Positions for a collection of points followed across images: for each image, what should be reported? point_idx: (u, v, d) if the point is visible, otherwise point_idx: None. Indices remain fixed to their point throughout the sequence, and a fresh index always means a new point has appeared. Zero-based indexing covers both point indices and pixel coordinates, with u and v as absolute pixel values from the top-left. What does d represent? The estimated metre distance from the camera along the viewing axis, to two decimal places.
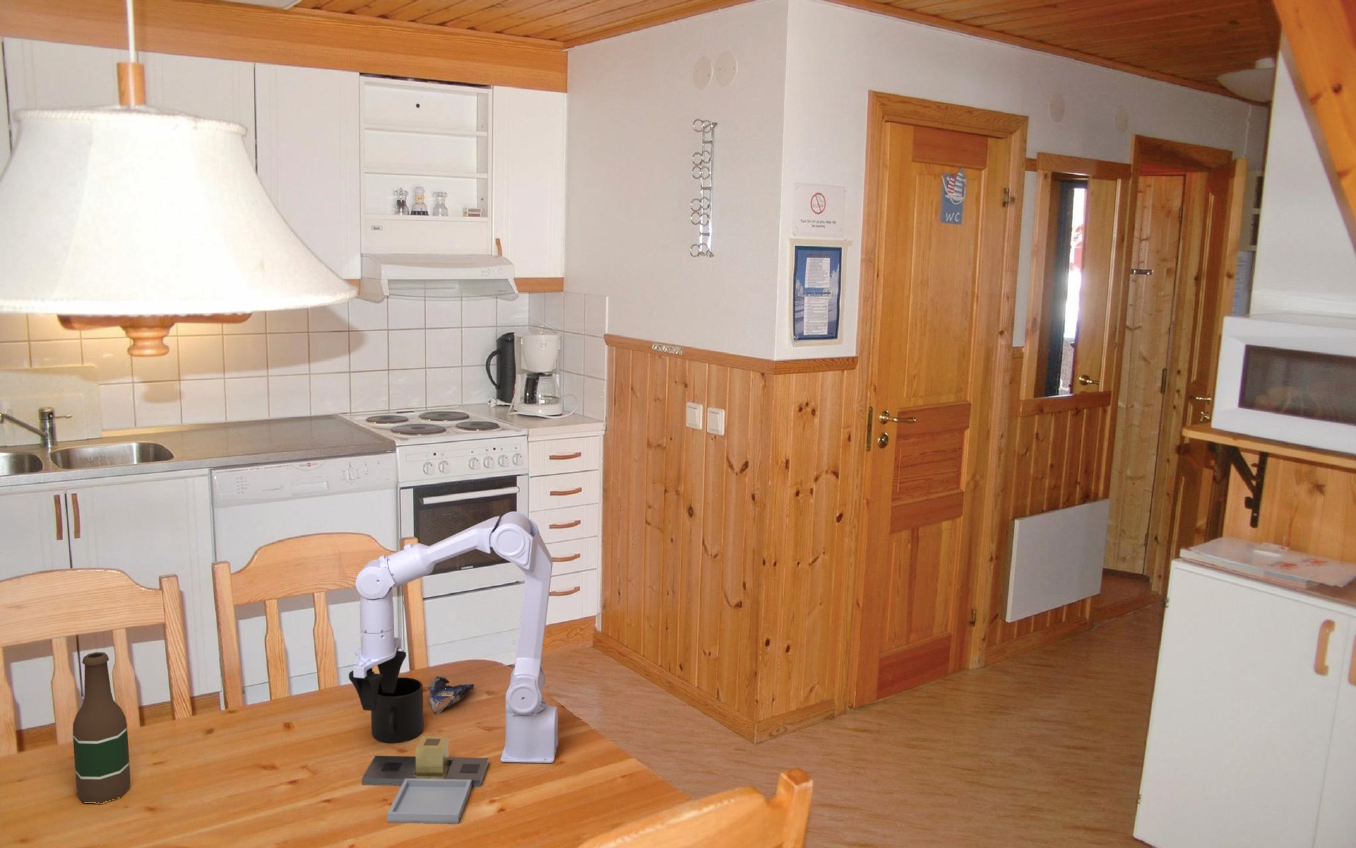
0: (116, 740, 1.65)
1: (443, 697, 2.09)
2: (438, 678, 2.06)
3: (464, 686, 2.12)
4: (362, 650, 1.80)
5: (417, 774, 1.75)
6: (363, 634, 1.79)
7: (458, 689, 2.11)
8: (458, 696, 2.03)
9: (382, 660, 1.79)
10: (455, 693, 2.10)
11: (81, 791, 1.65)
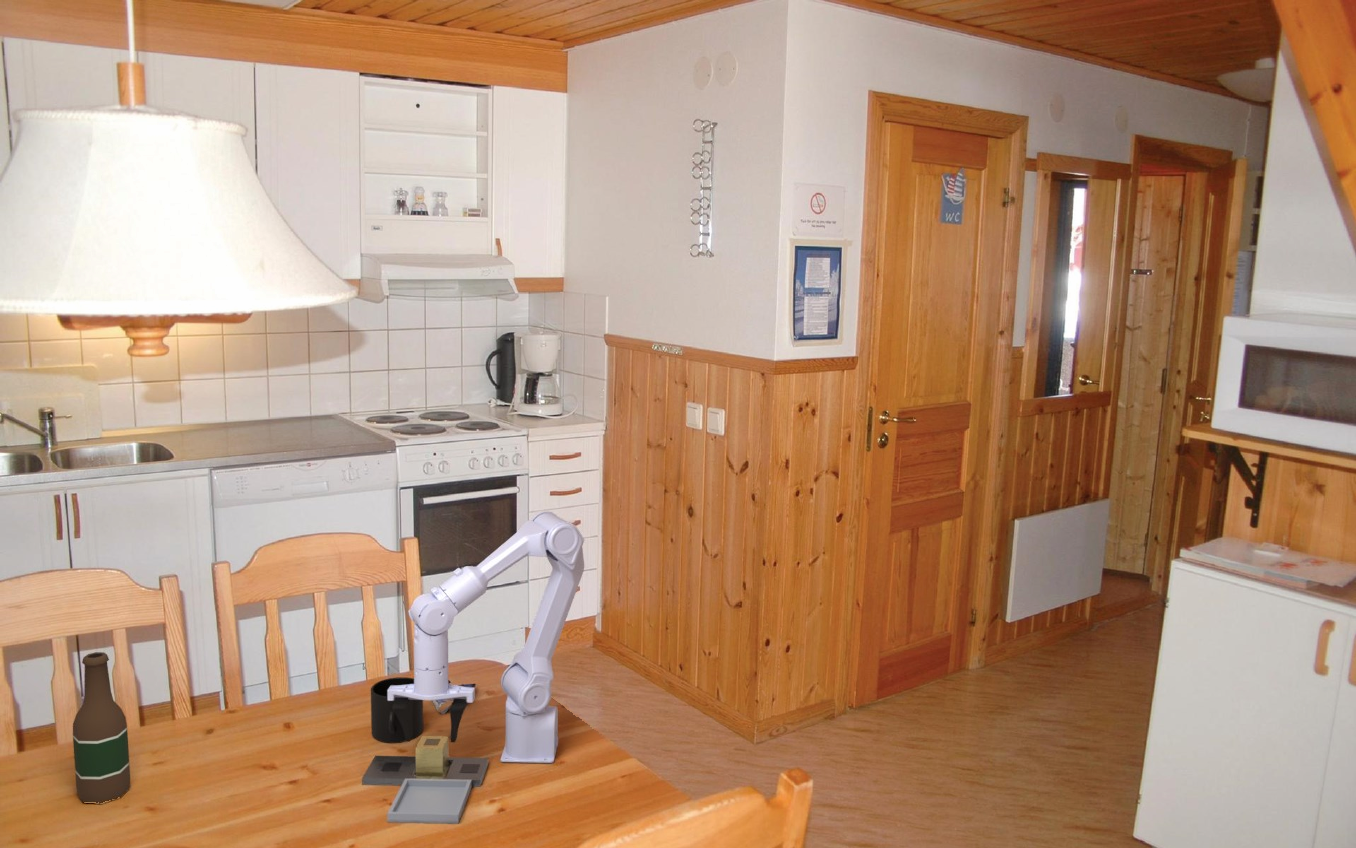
0: (116, 740, 1.65)
1: None
2: None
3: (465, 686, 2.12)
4: None
5: (417, 774, 1.75)
6: None
7: None
8: None
9: (411, 695, 1.73)
10: None
11: (81, 791, 1.65)
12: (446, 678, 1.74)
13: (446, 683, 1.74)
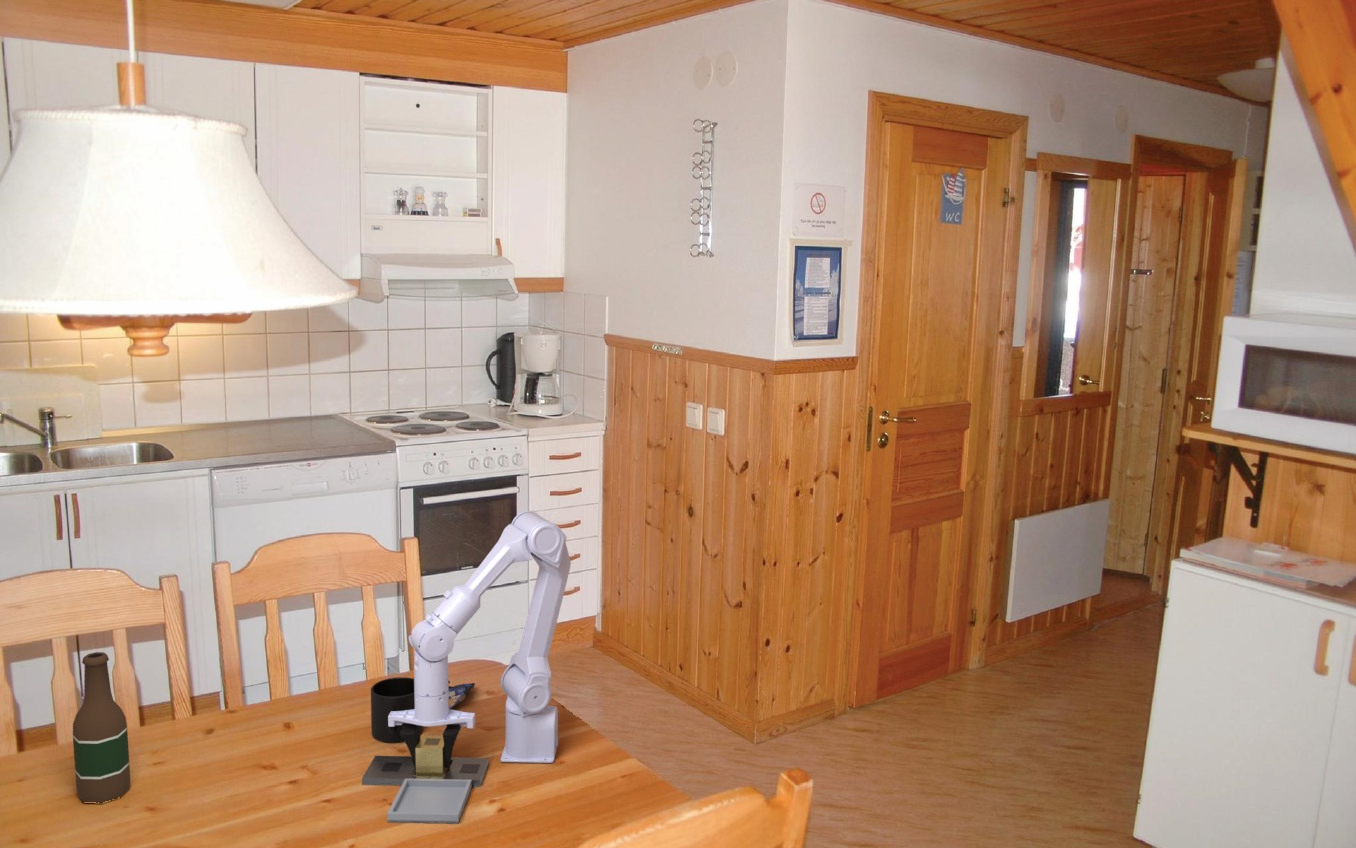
0: (116, 740, 1.65)
1: None
2: None
3: (464, 685, 2.12)
4: None
5: (417, 774, 1.75)
6: None
7: (459, 689, 2.11)
8: (464, 695, 2.04)
9: (412, 721, 1.74)
10: (456, 693, 2.10)
11: (81, 791, 1.65)
12: (446, 704, 1.75)
13: (446, 709, 1.75)
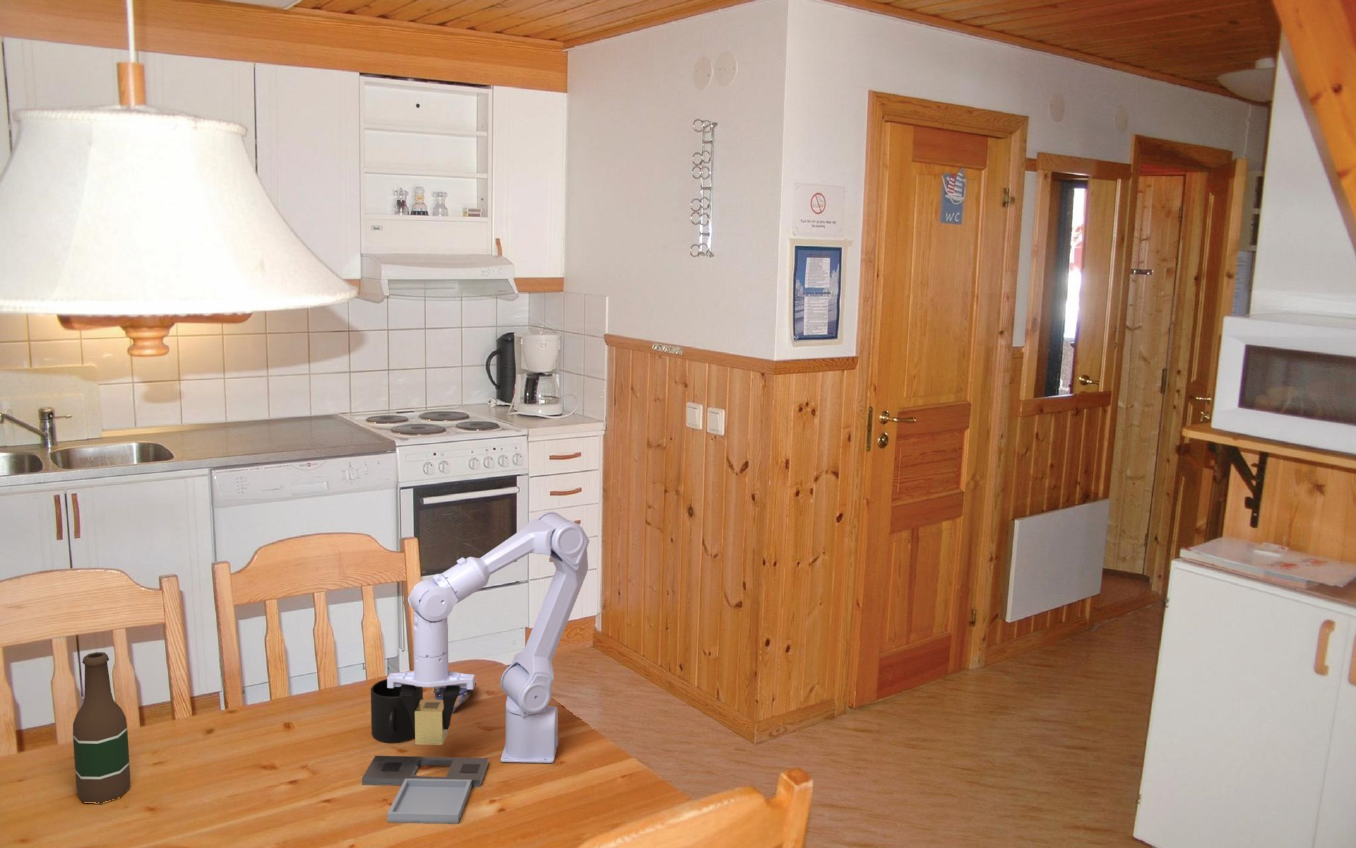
0: (116, 740, 1.65)
1: None
2: None
3: None
4: None
5: (416, 737, 1.74)
6: None
7: None
8: (468, 695, 2.04)
9: (411, 682, 1.72)
10: None
11: (81, 791, 1.65)
12: (446, 665, 1.74)
13: (446, 670, 1.74)
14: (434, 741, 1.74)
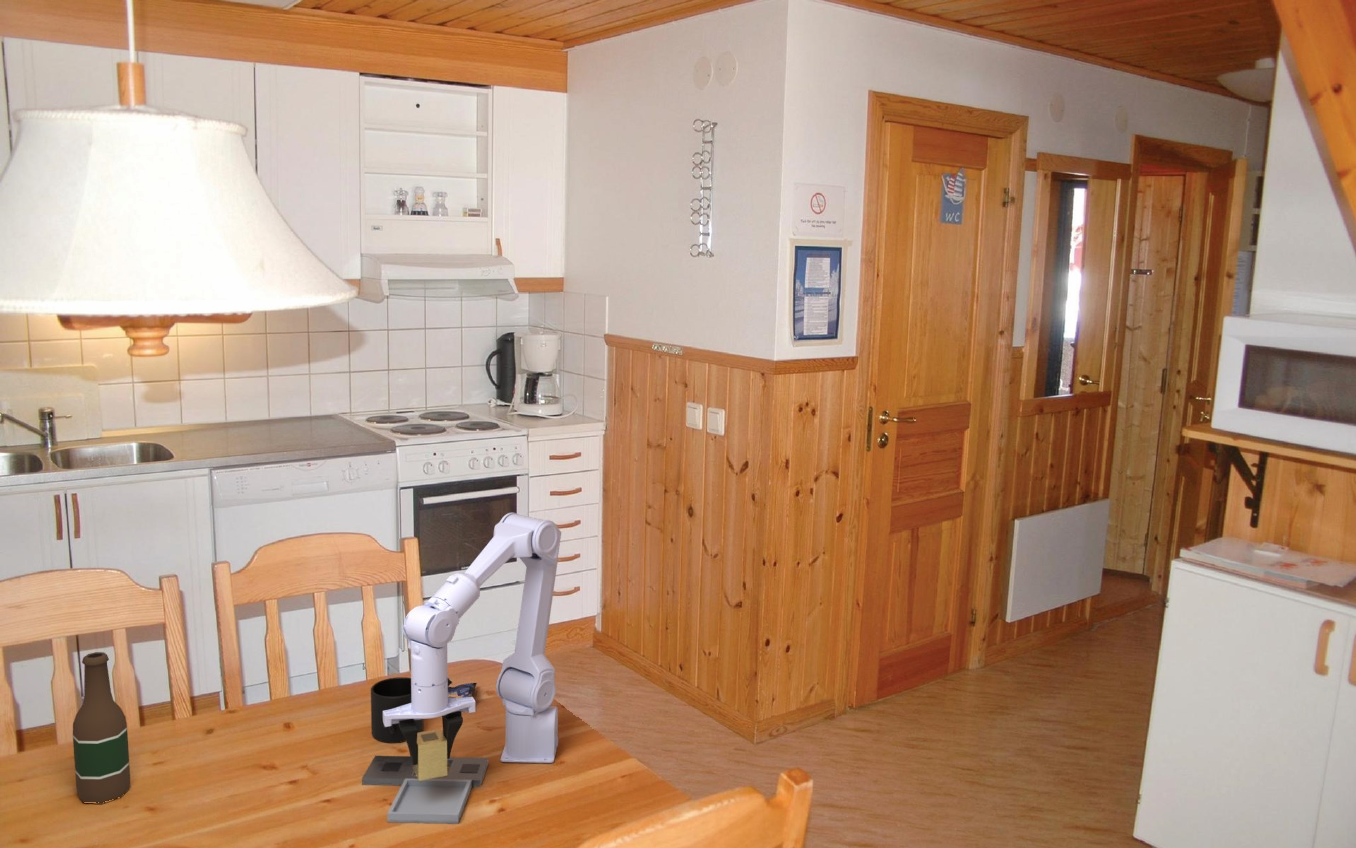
0: (115, 740, 1.65)
1: None
2: None
3: (465, 685, 2.13)
4: None
5: (420, 773, 1.64)
6: None
7: (461, 689, 2.11)
8: (471, 695, 2.04)
9: (414, 716, 1.62)
10: (459, 693, 2.10)
11: (81, 791, 1.65)
12: (447, 691, 1.65)
13: (447, 697, 1.65)
14: (438, 773, 1.66)
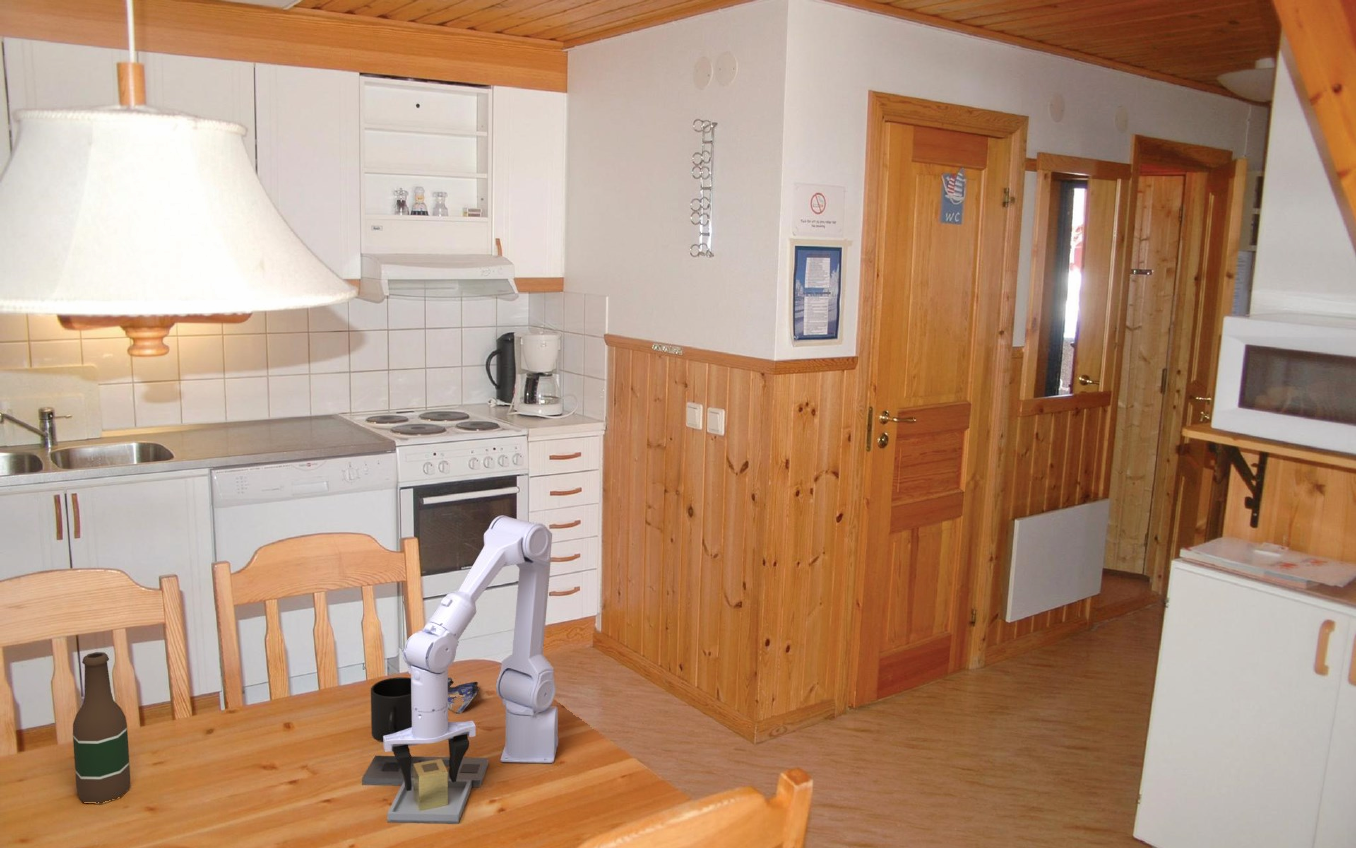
0: (116, 740, 1.65)
1: (451, 698, 2.08)
2: (449, 679, 2.06)
3: (466, 685, 2.13)
4: None
5: (420, 803, 1.65)
6: None
7: (462, 688, 2.11)
8: (476, 693, 2.05)
9: (415, 741, 1.63)
10: (461, 693, 2.10)
11: (81, 791, 1.65)
12: (447, 716, 1.66)
13: (447, 722, 1.66)
14: (439, 803, 1.66)
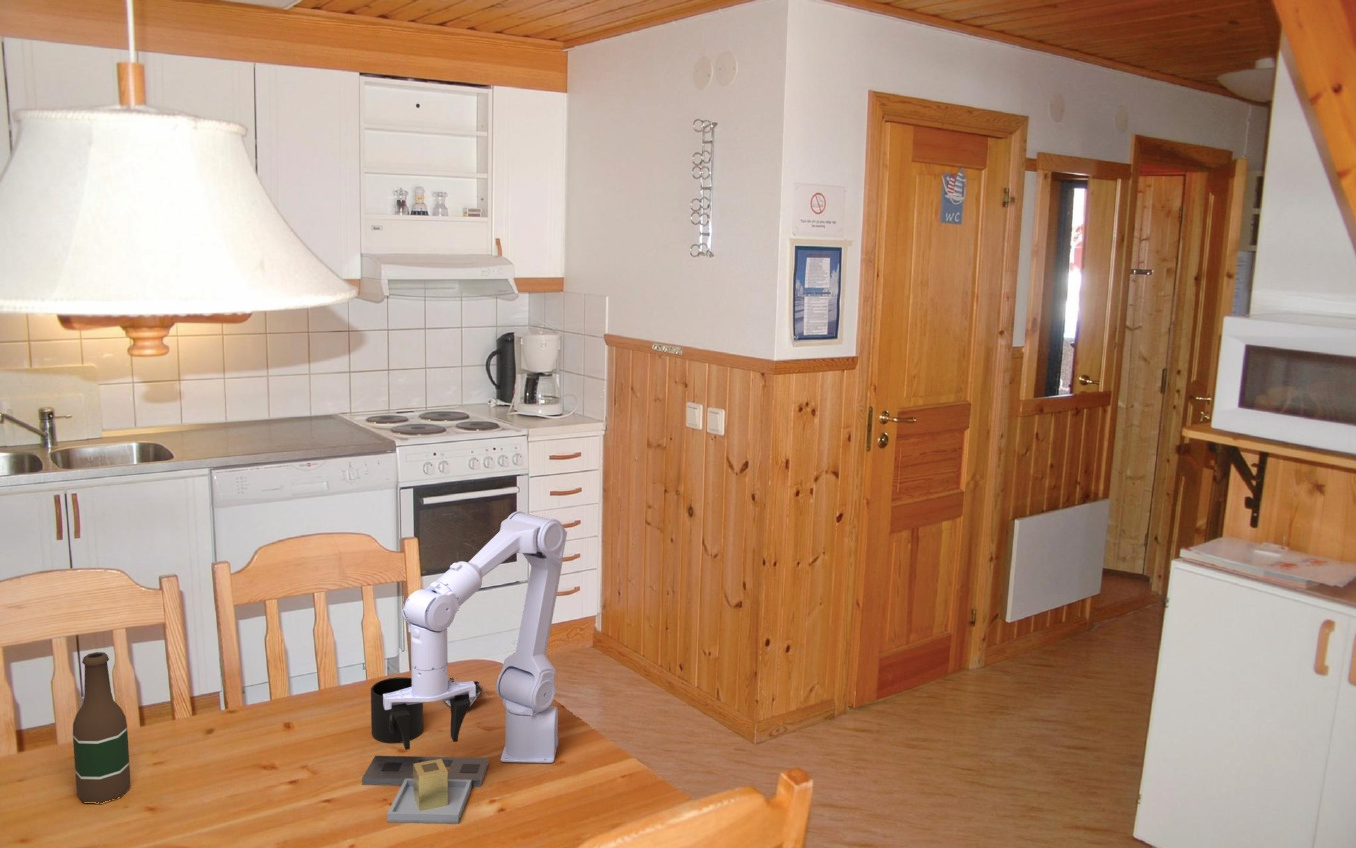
0: (116, 740, 1.65)
1: None
2: (451, 679, 2.06)
3: None
4: None
5: (420, 803, 1.65)
6: None
7: None
8: (479, 693, 2.05)
9: (414, 699, 1.63)
10: None
11: (81, 791, 1.65)
12: (447, 675, 1.66)
13: (447, 681, 1.66)
14: (439, 803, 1.66)
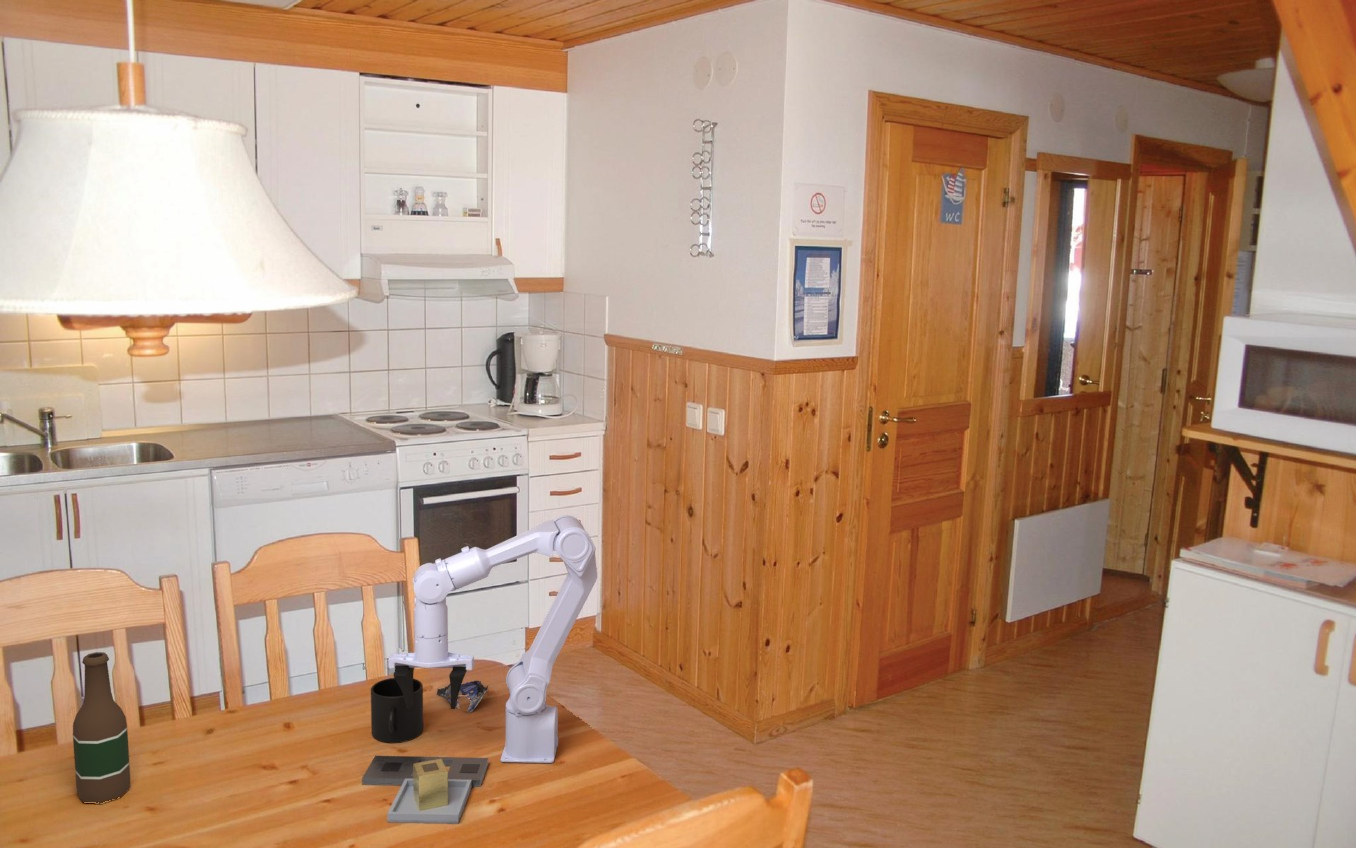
0: (116, 740, 1.65)
1: None
2: None
3: (466, 684, 2.13)
4: None
5: (420, 803, 1.65)
6: None
7: (463, 688, 2.12)
8: (484, 692, 2.06)
9: (412, 663, 1.77)
10: (463, 692, 2.11)
11: (81, 791, 1.65)
12: (446, 646, 1.78)
13: (445, 651, 1.78)
14: (439, 803, 1.66)
